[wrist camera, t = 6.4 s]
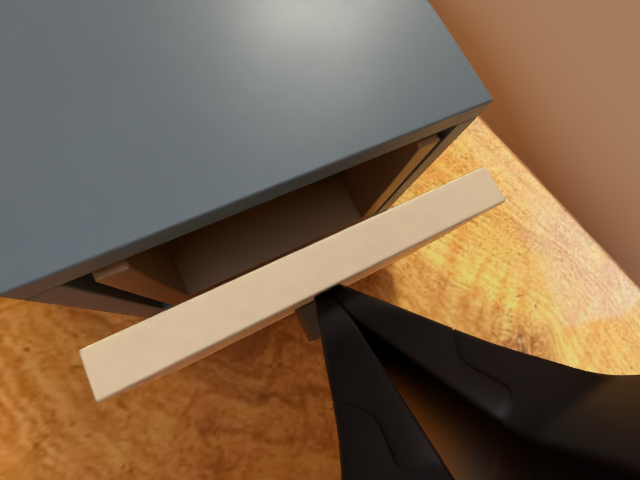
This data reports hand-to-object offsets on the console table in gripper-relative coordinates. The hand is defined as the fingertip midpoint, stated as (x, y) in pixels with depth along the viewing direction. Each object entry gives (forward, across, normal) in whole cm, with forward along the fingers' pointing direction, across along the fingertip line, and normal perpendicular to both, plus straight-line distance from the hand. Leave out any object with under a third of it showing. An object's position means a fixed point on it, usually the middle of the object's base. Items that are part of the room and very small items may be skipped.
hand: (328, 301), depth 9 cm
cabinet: (+13, 0, -2) cm, 13 cm away
